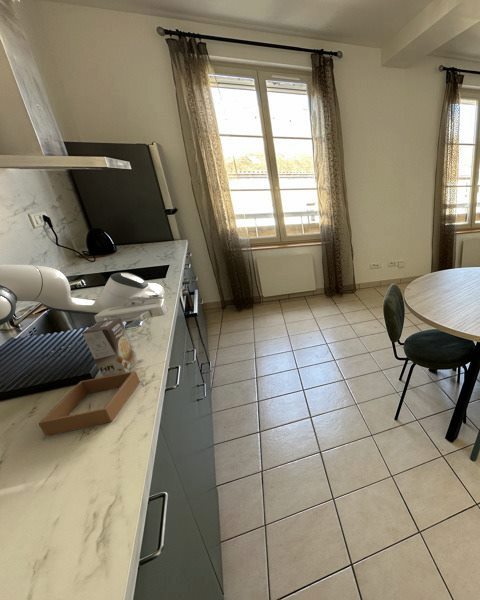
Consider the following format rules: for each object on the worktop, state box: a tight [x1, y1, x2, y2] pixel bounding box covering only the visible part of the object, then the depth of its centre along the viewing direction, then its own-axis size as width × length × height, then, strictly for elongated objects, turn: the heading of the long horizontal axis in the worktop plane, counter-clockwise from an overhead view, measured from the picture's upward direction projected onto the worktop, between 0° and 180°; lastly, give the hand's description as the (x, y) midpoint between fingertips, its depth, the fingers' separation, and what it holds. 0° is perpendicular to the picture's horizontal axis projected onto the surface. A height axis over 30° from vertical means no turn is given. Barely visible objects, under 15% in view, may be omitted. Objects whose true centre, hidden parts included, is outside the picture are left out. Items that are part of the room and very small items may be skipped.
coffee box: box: [81, 318, 139, 377], centre depth 102 cm, size 9×6×16 cm
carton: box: [37, 370, 141, 437], centre depth 88 cm, size 14×18×4 cm
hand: (122, 322), depth 109 cm, fingers open, 8 cm apart
